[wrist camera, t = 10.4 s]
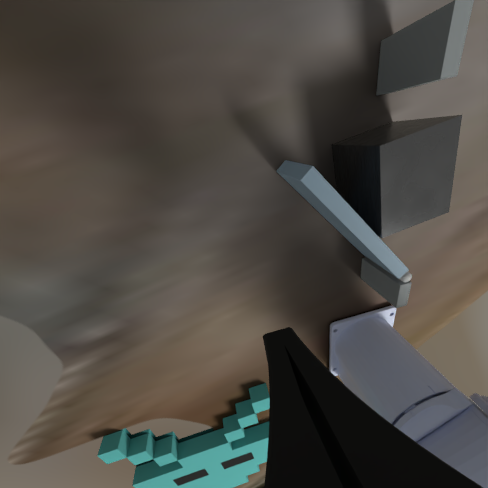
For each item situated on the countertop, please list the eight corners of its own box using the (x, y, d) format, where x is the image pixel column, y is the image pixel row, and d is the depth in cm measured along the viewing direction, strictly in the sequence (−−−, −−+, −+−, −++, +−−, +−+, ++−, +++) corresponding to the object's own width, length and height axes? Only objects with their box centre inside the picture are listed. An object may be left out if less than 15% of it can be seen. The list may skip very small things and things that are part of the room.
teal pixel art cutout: (105, 432, 26) (166, 491, 35) (97, 455, 24) (164, 512, 33) (264, 379, 28) (283, 449, 37) (269, 397, 26) (288, 466, 35)
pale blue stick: (370, 246, 21) (409, 269, 17) (362, 254, 21) (398, 279, 17) (285, 160, 16) (312, 165, 12) (276, 171, 16) (300, 180, 12)
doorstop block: (391, 195, 19) (448, 212, 15) (339, 215, 19) (381, 238, 15) (391, 121, 17) (462, 115, 12) (330, 144, 16) (379, 146, 12)
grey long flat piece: (369, 275, 23) (406, 304, 19) (360, 277, 23) (396, 308, 19) (395, 38, 14) (474, -3, 10) (381, 40, 14) (455, 0, 10)
